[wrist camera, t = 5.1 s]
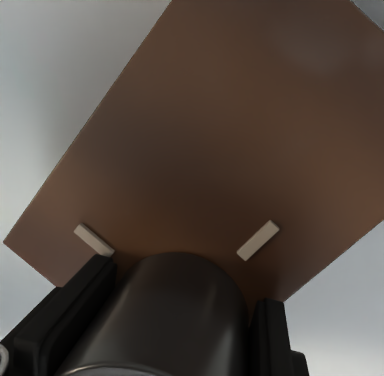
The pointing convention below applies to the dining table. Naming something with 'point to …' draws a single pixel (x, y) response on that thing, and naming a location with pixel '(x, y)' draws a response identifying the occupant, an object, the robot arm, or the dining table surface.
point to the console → (225, 149)
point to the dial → (166, 323)
